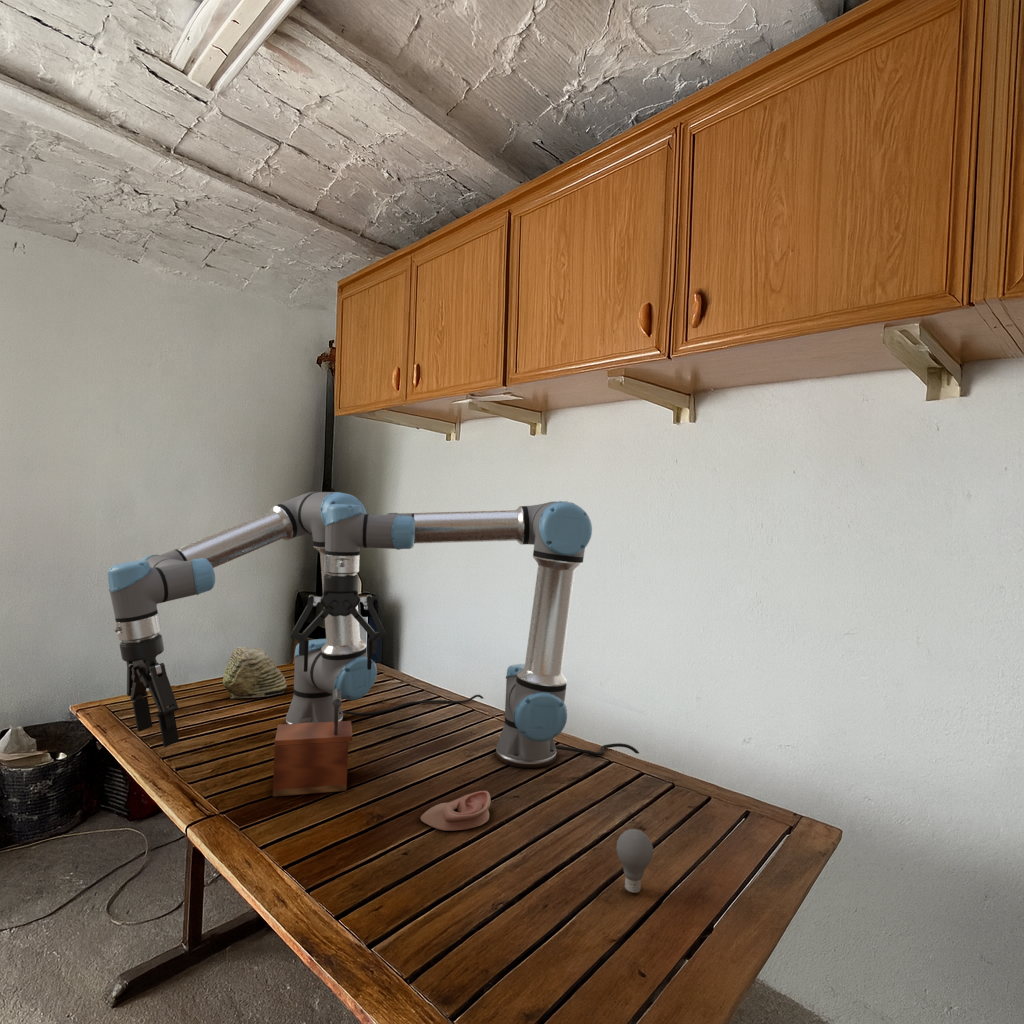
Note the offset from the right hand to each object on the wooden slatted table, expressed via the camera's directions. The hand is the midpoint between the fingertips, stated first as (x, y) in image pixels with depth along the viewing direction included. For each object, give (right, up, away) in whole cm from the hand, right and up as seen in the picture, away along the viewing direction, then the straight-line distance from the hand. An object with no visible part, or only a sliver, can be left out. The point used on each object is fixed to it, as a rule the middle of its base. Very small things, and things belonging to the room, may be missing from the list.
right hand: (337, 669), depth 141 cm
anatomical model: (+27, -27, -13) cm, 41 cm away
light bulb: (+59, -29, -35) cm, 74 cm away
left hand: (-35, -12, -9) cm, 38 cm away
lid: (-5, -14, -1) cm, 15 cm away
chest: (-6, -25, -1) cm, 26 cm away
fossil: (-42, -22, +57) cm, 74 cm away
